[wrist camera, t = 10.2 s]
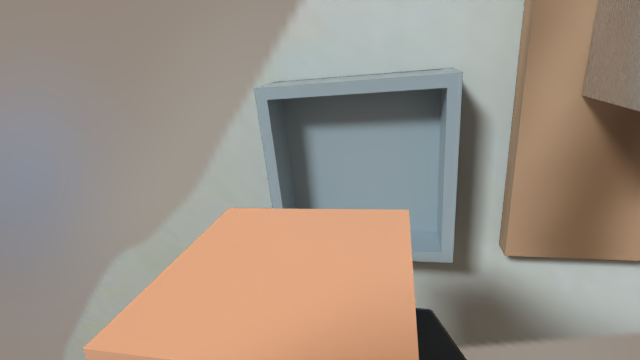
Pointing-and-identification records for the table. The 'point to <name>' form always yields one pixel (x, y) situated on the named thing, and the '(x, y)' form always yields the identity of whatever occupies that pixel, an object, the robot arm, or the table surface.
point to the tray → (368, 148)
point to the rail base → (568, 148)
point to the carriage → (615, 54)
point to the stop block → (278, 292)
